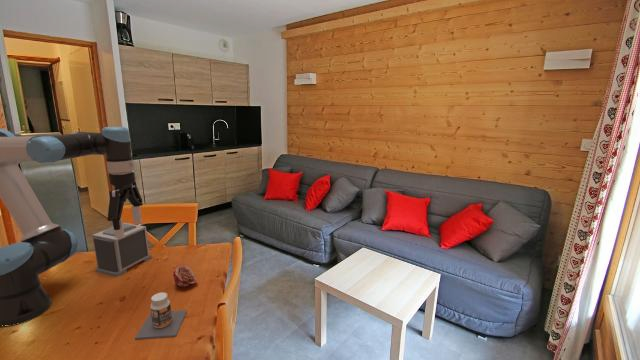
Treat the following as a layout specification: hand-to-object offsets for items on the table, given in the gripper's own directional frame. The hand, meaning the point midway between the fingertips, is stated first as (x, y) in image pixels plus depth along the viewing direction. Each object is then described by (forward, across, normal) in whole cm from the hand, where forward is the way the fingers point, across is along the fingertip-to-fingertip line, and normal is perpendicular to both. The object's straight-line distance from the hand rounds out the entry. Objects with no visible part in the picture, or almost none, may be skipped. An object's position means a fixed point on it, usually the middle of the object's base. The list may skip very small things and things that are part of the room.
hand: (129, 229), depth 110 cm
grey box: (+27, +25, +16) cm, 40 cm away
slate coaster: (+27, -18, -15) cm, 35 cm away
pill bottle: (+26, -18, -15) cm, 35 cm away
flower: (+27, +5, -16) cm, 32 cm away
